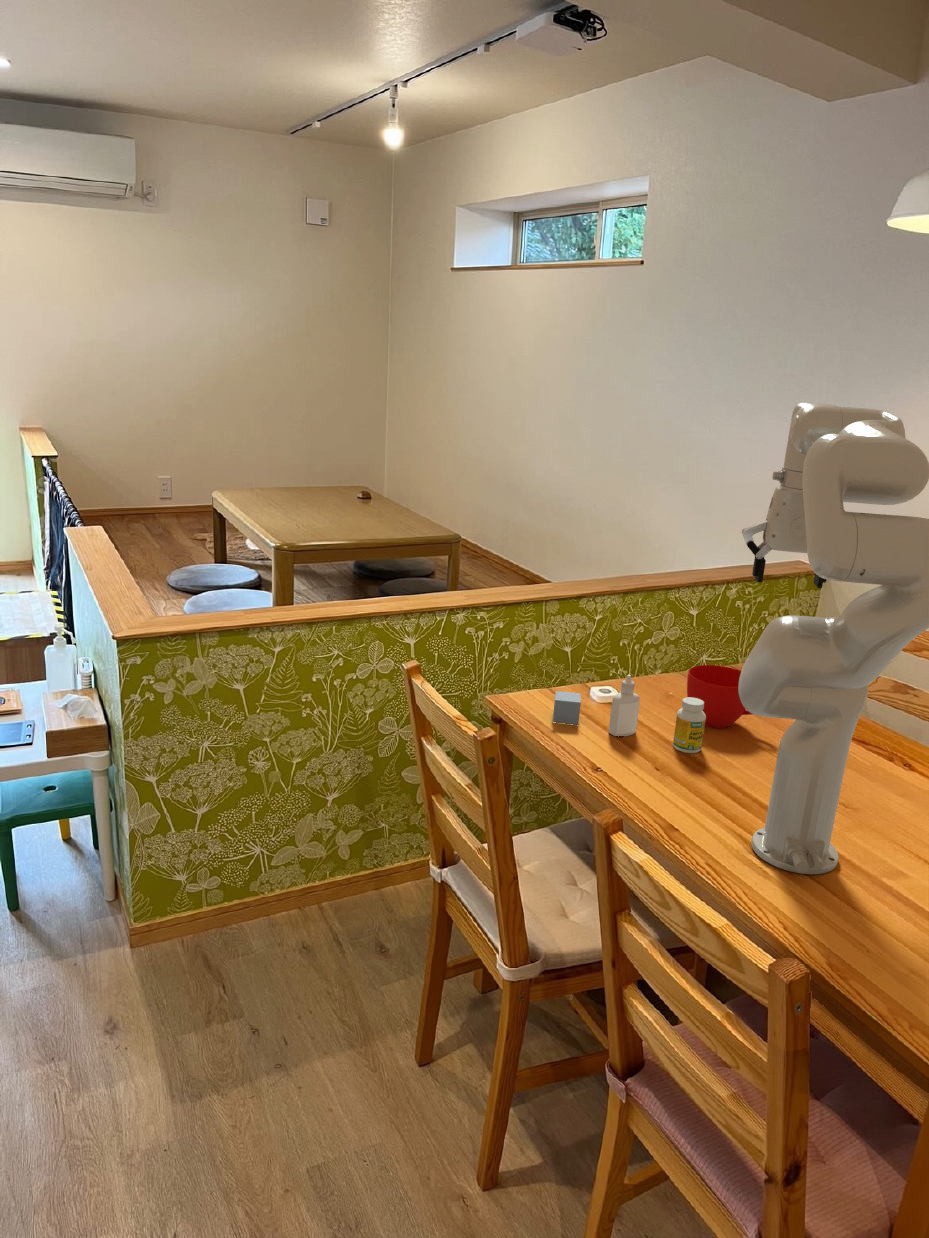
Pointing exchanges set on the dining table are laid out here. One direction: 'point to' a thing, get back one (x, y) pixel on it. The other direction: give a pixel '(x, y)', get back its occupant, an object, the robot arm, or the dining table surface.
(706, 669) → the ceramic cup
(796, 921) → the dining table surface
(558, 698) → the slate block
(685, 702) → the supplement bottle
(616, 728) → the eye dropper bottle
